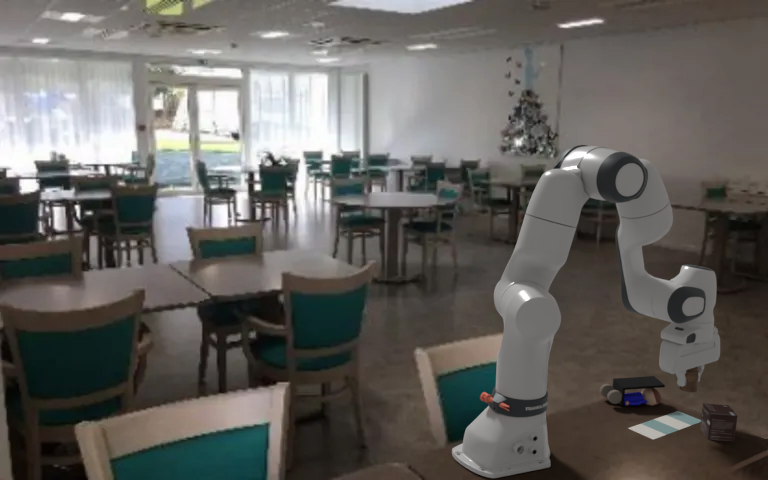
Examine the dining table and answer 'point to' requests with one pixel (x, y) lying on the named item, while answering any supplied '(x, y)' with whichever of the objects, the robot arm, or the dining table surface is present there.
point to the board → (665, 425)
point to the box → (718, 422)
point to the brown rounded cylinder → (691, 380)
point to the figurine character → (646, 396)
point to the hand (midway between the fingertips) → (688, 383)
